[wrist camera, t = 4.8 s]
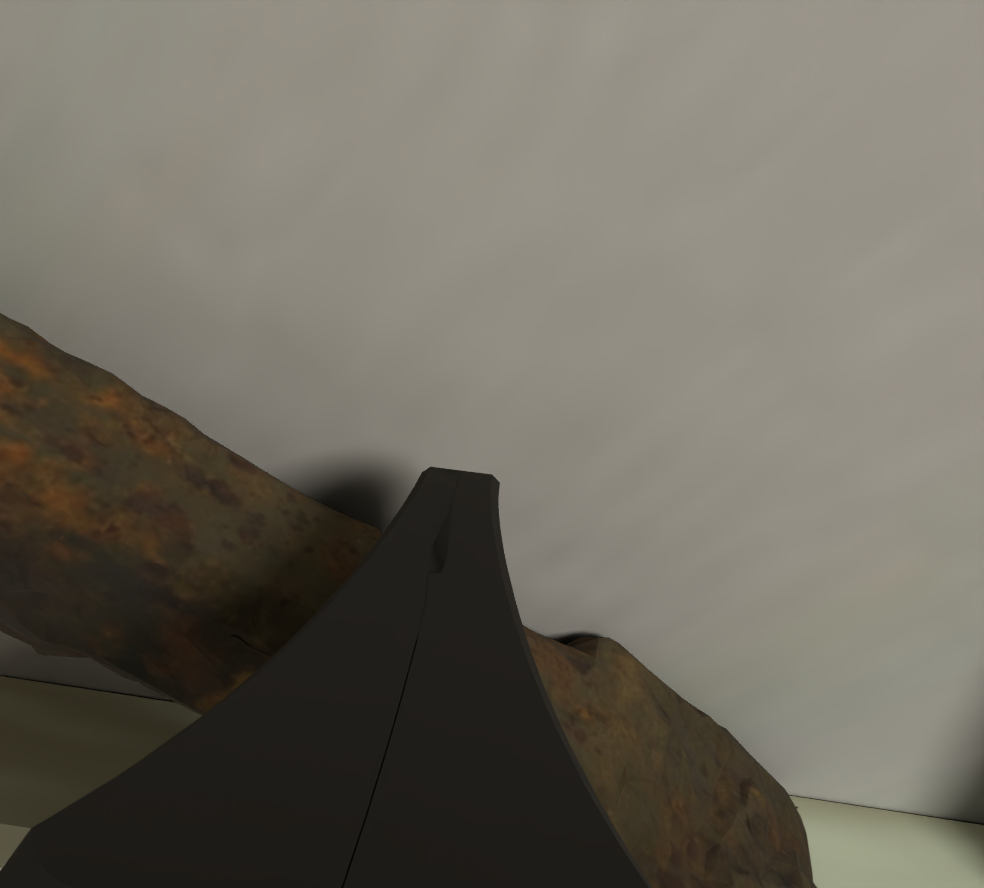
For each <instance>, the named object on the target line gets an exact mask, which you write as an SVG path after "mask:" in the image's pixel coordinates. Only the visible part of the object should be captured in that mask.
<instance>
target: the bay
mask: <svg viewBox="0 0 984 888" xmlns="http://www.w3.org/2000/svg"><path fill="white" fill-rule="evenodd" d="M201 716H202V715H199V714H197V713H195V712H193V711H191V710H189V709H187V708H186V707H184V706H182V705H180V704H178V703H175V702H168V701H161V700H155V699H148V698H142V697H135V696H128V695H122V694H115V693H109V692H102V691H95V690H89V689H82V688H76V687H69V686H62V685H56V684H49V683H43V682H36V681H29V680H23V679H16V678H10V677H3V676H0V867H4V865H5V864H6V862H7V861H8V859H9V858H10V857H11V855H12V854H13V852H14V851H15V850H16V848H17V847H18V846H19V844H20V843H21V841H22V840H23V839H24V837H25V836H26V834H27V833H28V832H29V830H30V829H31V828H32V827H34V826H35V825H37V824H39V823H40V822H42V821H44V820H45V819H47V818H49V817H51V816H52V815H54V814H55V813H57V812H59V811H60V810H62V809H64V808H65V807H67V806H69V805H70V804H72V803H73V802H75V801H77V800H78V799H80V798H82V797H83V796H85V795H87V794H88V793H90V792H92V791H93V790H95V789H96V788H98V787H100V786H101V785H103V784H105V783H106V782H108V781H110V780H111V779H113V778H114V777H116V776H118V775H119V774H121V773H122V772H124V771H125V770H127V769H128V768H130V767H131V766H133V765H134V764H136V763H137V762H139V761H140V760H141V759H143V758H144V757H146V756H147V755H148V754H150V753H151V752H153V751H154V750H155V749H157V748H158V747H160V746H161V745H162V744H164V743H165V742H167V741H168V740H169V739H171V738H172V737H174V736H175V735H176V734H178V733H179V732H181V731H182V730H183V729H185V728H186V727H188V726H189V725H190V724H192V723H193V722H195V721H196V720H197V719H198V718H200V717H201ZM790 798H791V800H792V801H793V803H794V805H795V807H796V806H797V807H798V808H797V810H798V812H799V814H800V816H801V818H802V821H803V824H804V827H805V830H806V833H807V839H808V846H809V852H810V859H811V866H812V874H813V883H814V884H815V885H816V887H817V888H984V825H980V824H973V823H966V822H960V821H953V820H947V819H940V818H933V817H927V816H920V815H914V814H907V813H900V812H894V811H887V810H881V809H874V808H867V807H861V806H854V805H848V804H841V803H834V802H828V801H821V800H815V799H808V798H801V797H795V796H790Z"/></svg>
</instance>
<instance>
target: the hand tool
mask: <svg viewBox="0 0 984 888" xmlns="http://www.w3.org/2000/svg"><path fill="white" fill-rule="evenodd" d="M382 534H383V533H382V532H381V531H380V530H379V529H378V528H376V527H373V526H371V525H368V524H366V523H363V522H360V521H358V520H355V519H353V518H350V517H348V516H346V515H344V514H342V513H340V512H337V511H335V510H333V509H331V508H329V507H327V506H325V505H323V504H321V503H319V502H317V501H315V500H314V499H312V498H310V497H308V496H306V495H305V494H303V493H301V492H299V491H297V490H295V489H294V488H292V487H290V486H288V485H286V484H285V483H283V482H281V481H280V480H278V479H277V478H275V477H273V476H272V475H270V474H268V473H267V472H265V471H263V470H262V469H260V468H258V467H257V466H255V465H254V464H252V463H251V462H249V461H248V460H246V459H244V458H243V457H241V456H239V455H238V454H236V453H234V452H233V451H231V450H229V449H228V448H226V447H224V446H223V445H221V444H219V443H218V442H216V441H214V440H213V439H211V438H209V437H208V436H206V435H204V434H203V433H202V432H201V431H199V430H198V429H197V428H196V427H195V426H193V425H192V424H191V423H190V422H189V421H187V420H186V419H185V418H183V417H181V416H180V415H178V414H176V413H174V412H173V411H171V410H169V409H167V408H166V407H164V406H162V405H160V404H158V403H156V402H154V401H152V400H150V399H148V398H146V397H144V396H142V395H140V394H139V393H138V392H136V391H135V390H134V389H132V388H131V387H130V386H128V385H127V384H126V383H124V382H123V381H122V380H121V379H119V378H118V377H117V376H115V375H114V374H112V373H110V372H108V371H106V370H104V369H102V368H99V367H97V366H95V365H93V364H91V363H88V362H86V361H84V360H82V359H80V358H77V357H75V356H73V355H70V354H68V353H66V352H63V351H62V350H60V349H59V348H57V347H55V346H54V345H52V344H50V343H49V342H48V341H46V340H45V339H44V338H42V337H41V336H40V335H38V334H37V333H36V332H34V331H33V330H32V329H30V328H29V327H28V326H25V325H23V324H21V323H19V322H16V321H14V320H12V319H10V318H8V317H6V316H4V315H3V314H1V313H0V631H2V632H4V633H6V634H8V635H10V636H12V637H14V638H17V639H19V640H21V641H24V642H26V643H28V644H31V645H32V647H33V648H34V649H35V651H36V652H37V653H38V654H42V655H52V656H68V657H84V658H92V659H93V660H95V661H97V662H98V663H100V664H102V665H103V666H105V667H107V668H108V669H110V670H112V671H114V672H116V673H117V674H119V675H121V676H123V677H125V678H128V679H131V680H134V681H137V682H139V683H141V684H143V685H145V686H147V687H148V688H150V689H152V690H154V691H156V692H158V693H159V694H161V695H163V696H165V697H167V698H169V699H171V700H173V701H174V702H176V703H178V704H180V705H182V706H184V707H186V708H187V709H189V710H191V711H193V712H195V713H197V714H199V715H204V714H205V713H206V712H208V711H209V710H210V709H211V708H213V707H214V706H215V705H216V704H218V703H219V702H220V701H221V700H223V699H224V698H225V697H226V696H227V695H229V694H230V693H231V692H232V691H233V690H234V689H236V688H237V687H238V686H239V685H240V684H241V683H243V682H244V681H245V680H246V679H247V678H248V677H250V676H251V675H252V674H253V673H254V672H256V671H257V670H258V669H259V668H260V667H261V666H262V665H264V664H265V663H266V662H267V661H268V660H269V659H270V658H271V657H272V656H273V655H274V654H275V653H276V652H278V651H279V650H280V649H281V648H282V647H283V646H284V645H285V644H286V643H287V642H288V641H289V640H290V639H291V638H292V637H293V636H294V635H295V634H296V633H297V632H298V631H299V630H300V629H301V628H302V627H303V626H304V625H305V624H306V623H307V622H308V621H309V620H310V619H311V618H312V617H313V616H314V615H315V614H316V613H317V612H318V610H319V609H320V608H321V607H322V606H323V605H324V604H325V603H326V602H327V600H328V599H329V598H330V597H331V596H332V595H333V594H334V593H335V591H336V590H337V589H338V588H339V587H340V586H341V585H342V584H343V582H344V581H345V580H346V579H347V578H348V577H349V576H350V575H351V573H352V572H353V571H354V570H355V569H356V567H357V566H358V565H359V563H360V562H361V561H362V560H363V558H364V557H365V556H366V555H367V553H368V552H369V551H370V549H371V548H372V547H373V546H374V544H375V543H376V542H377V540H378V539H379V538H380V537H381V535H382ZM523 628H524V631H525V634H526V637H527V641H528V644H529V647H530V650H531V652H532V655H533V658H534V661H535V664H536V666H537V669H538V672H539V674H540V677H541V680H542V682H543V685H544V687H545V689H546V692H547V694H548V697H549V699H550V701H551V704H552V706H553V709H554V711H555V713H556V715H557V718H558V720H559V722H560V724H561V726H562V728H563V731H564V733H565V735H566V737H567V739H568V742H569V744H570V746H571V748H572V750H573V752H574V754H575V755H576V757H577V759H578V761H579V763H580V765H581V767H582V769H583V771H584V772H585V774H586V776H587V778H588V780H589V782H590V784H591V786H592V788H593V789H594V791H595V793H596V795H597V797H598V799H599V801H600V803H601V805H602V806H603V808H604V810H605V812H606V813H607V815H608V817H609V818H610V820H611V822H612V823H613V825H614V827H615V828H616V830H617V832H618V833H619V835H620V837H621V838H622V840H623V842H624V843H625V845H626V847H627V848H628V850H629V852H630V853H631V855H632V856H633V858H634V859H635V861H636V863H637V864H638V866H639V867H640V869H641V870H642V872H643V873H644V875H645V876H646V878H647V879H648V881H649V883H650V884H651V886H652V887H653V888H817V887H816V885H815V884H814V883H813V874H812V866H811V859H810V852H809V846H808V839H807V833H806V830H805V827H804V824H803V821H802V818H801V816H800V814H799V812H798V810H797V808H798V807H797V806H796V807H795V805H794V803H793V801H792V800H791V798H790V796H789V795H788V793H787V792H786V790H785V789H784V788H783V787H782V786H781V785H780V784H779V783H778V782H777V781H776V780H775V779H774V778H773V777H772V776H771V775H770V774H769V773H768V772H767V771H766V770H765V769H764V768H763V767H762V766H761V765H760V764H759V763H758V762H757V761H756V760H755V759H754V758H753V757H752V756H751V755H750V754H749V753H748V752H747V751H746V750H745V749H744V747H743V746H742V745H741V744H740V743H739V742H738V741H737V740H736V739H735V738H734V737H733V736H732V735H731V734H730V733H729V731H728V730H727V729H726V728H724V727H722V726H720V725H718V724H717V723H716V722H715V721H714V720H713V719H712V718H711V717H710V716H708V715H707V714H705V713H703V712H702V711H700V710H699V709H697V708H696V707H694V706H693V705H691V704H690V703H688V702H687V701H685V700H684V699H683V698H682V697H680V696H679V695H678V694H677V693H676V692H674V691H673V690H672V689H671V688H670V687H669V686H667V685H666V684H665V683H664V682H663V681H661V680H660V679H659V678H658V677H657V676H655V675H654V674H653V673H652V672H651V671H649V670H648V669H647V668H646V667H645V666H644V665H643V664H642V663H640V662H639V661H638V660H637V659H636V658H635V657H634V656H633V655H632V654H630V653H629V652H628V651H627V650H626V649H625V648H624V647H623V646H622V645H620V644H619V643H617V642H616V641H614V640H612V639H610V638H601V637H580V638H578V639H576V640H574V641H572V642H570V643H568V644H566V645H564V644H562V643H559V642H557V641H555V640H553V639H551V638H548V637H545V636H543V635H540V634H538V633H535V632H534V631H532V630H530V629H528V628H527V627H525V626H523Z"/></svg>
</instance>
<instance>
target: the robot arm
mask: <svg viewBox="0 0 984 888" xmlns="http://www.w3.org/2000/svg"><path fill="white" fill-rule="evenodd" d="M499 485H500V483H499V482H498V480H497V479H496V478H495V477H494V476H493V475H491V474H483V473H475V472H467V471H459V470H452V469H444V468H436V467H430V468H428V469H427V470H425V471H423V472H422V473H421V475H420V477H419V479H418V481H417V483H416V484H415V486H414V488H413V490H412V491H411V493H410V495H409V496H408V498H407V499H406V501H405V502H404V504H403V506H402V507H401V508H400V510H399V511H398V513H397V514H396V516H395V517H394V519H393V520H392V521H391V523H390V524H389V526H388V527H387V529H386V530H385V531H384V533H383V534H382V535H381V537H380V538H379V539H378V540H377V542H376V543H375V544H374V546H373V547H372V548H371V549H370V551H369V552H368V553H367V555H366V556H365V557H364V558H363V560H362V561H361V562H360V563H359V565H358V566H357V567H356V569H355V570H354V571H353V572H352V573H351V575H350V576H349V577H348V578H347V579H346V580H345V581H344V582H343V584H342V585H341V586H340V587H339V588H338V589H337V590H336V591H335V593H334V594H333V595H332V596H331V597H330V598H329V599H328V600H327V602H326V603H325V604H324V605H323V606H322V607H321V608H320V609H319V610H318V612H317V613H316V614H315V615H314V616H313V617H312V618H311V619H310V620H309V621H308V622H307V623H306V624H305V625H304V626H303V627H302V628H301V629H300V630H299V631H298V632H297V633H296V634H295V635H294V636H293V637H292V638H291V639H290V640H289V641H288V642H287V643H286V644H285V645H284V646H283V647H282V648H281V649H280V650H279V651H278V652H276V653H275V654H274V655H273V656H272V657H271V658H270V659H269V660H268V661H267V662H266V663H265V664H264V665H262V666H261V667H260V668H259V669H258V670H257V671H256V672H254V673H253V674H252V675H251V676H250V677H248V678H247V679H246V680H245V681H244V682H243V683H241V684H240V685H239V686H238V687H237V688H236V689H234V690H233V691H232V692H231V693H230V694H229V695H227V696H226V697H225V698H224V699H223V700H221V701H220V702H219V703H218V704H216V705H215V706H214V707H213V708H211V709H210V710H209V711H208V712H206V713H205V714H204V715H202V716H201V717H200V718H198V719H197V720H196V721H195V722H193V723H192V724H190V725H189V726H188V727H186V728H185V729H183V730H182V731H181V732H179V733H178V734H176V735H175V736H174V737H172V738H171V739H169V740H168V741H167V742H165V743H164V744H162V745H161V746H160V747H158V748H157V749H155V750H154V751H153V752H151V753H150V754H148V755H147V756H146V757H144V758H143V759H141V760H140V761H139V762H137V763H136V764H134V765H133V766H131V767H130V768H128V769H127V770H125V771H124V772H122V773H121V774H119V775H118V776H116V777H114V778H113V779H111V780H110V781H108V782H106V783H105V784H103V785H101V786H100V787H98V788H96V789H95V790H93V791H92V792H90V793H88V794H87V795H85V796H83V797H82V798H80V799H78V800H77V801H75V802H73V803H72V804H70V805H69V806H67V807H65V808H64V809H62V810H60V811H59V812H57V813H55V814H54V815H52V816H51V817H49V818H47V819H45V820H44V821H42V822H40V823H39V824H37V825H35V826H34V827H32V828H31V829H30V830H29V832H28V833H27V834H26V836H25V837H24V839H23V840H22V841H21V843H20V844H19V846H18V847H17V848H16V850H15V851H14V852H13V854H12V855H11V857H10V858H9V859H8V861H7V862H6V864H5V865H4V867H3V868H2V870H1V871H0V888H653V887H652V886H651V884H650V883H649V881H648V879H647V878H646V876H645V875H644V873H643V872H642V870H641V869H640V867H639V866H638V864H637V863H636V861H635V859H634V858H633V856H632V855H631V853H630V852H629V850H628V848H627V847H626V845H625V843H624V842H623V840H622V838H621V837H620V835H619V833H618V832H617V830H616V828H615V827H614V825H613V823H612V822H611V820H610V818H609V817H608V815H607V813H606V812H605V810H604V808H603V806H602V805H601V803H600V801H599V799H598V797H597V795H596V793H595V791H594V789H593V788H592V786H591V784H590V782H589V780H588V778H587V776H586V774H585V772H584V771H583V769H582V767H581V765H580V763H579V761H578V759H577V757H576V755H575V754H574V752H573V750H572V748H571V746H570V744H569V742H568V739H567V737H566V735H565V733H564V731H563V728H562V726H561V724H560V722H559V720H558V718H557V715H556V713H555V711H554V709H553V706H552V704H551V701H550V699H549V697H548V694H547V692H546V689H545V687H544V685H543V682H542V680H541V677H540V674H539V672H538V669H537V666H536V664H535V661H534V658H533V655H532V652H531V650H530V647H529V644H528V641H527V637H526V634H525V631H524V628H523V625H522V622H521V619H520V615H519V612H518V608H517V605H516V601H515V598H514V593H513V589H512V585H511V581H510V577H509V573H508V569H507V565H506V560H505V555H504V549H503V543H502V537H501V530H500V521H499V508H498V495H499Z"/></svg>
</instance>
